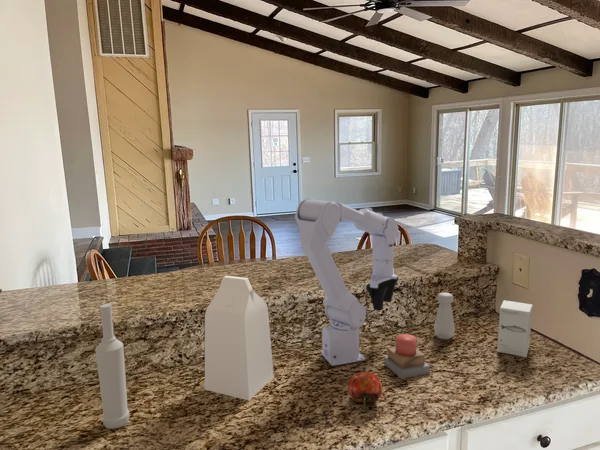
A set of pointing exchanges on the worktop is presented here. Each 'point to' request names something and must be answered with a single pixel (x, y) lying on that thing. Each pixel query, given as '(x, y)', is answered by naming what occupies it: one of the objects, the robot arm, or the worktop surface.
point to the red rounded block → (406, 345)
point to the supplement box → (514, 328)
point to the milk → (237, 341)
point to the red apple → (365, 387)
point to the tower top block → (406, 358)
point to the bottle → (111, 374)
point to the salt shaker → (444, 317)
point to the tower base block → (407, 369)
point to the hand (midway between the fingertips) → (382, 305)
